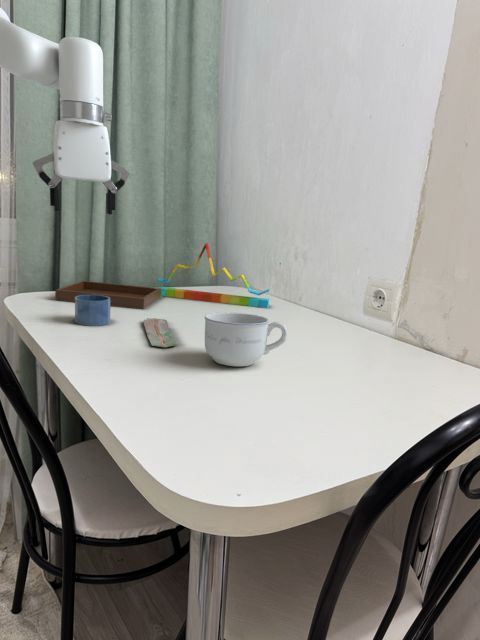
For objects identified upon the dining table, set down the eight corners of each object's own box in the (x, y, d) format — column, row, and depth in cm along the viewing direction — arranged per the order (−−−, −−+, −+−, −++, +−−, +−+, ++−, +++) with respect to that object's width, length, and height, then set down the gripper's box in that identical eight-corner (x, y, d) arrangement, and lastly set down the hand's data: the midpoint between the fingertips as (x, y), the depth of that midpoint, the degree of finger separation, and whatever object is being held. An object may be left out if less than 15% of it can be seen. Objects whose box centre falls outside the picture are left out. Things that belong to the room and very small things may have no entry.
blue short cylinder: (69, 323, 101) (69, 299, 99) (83, 316, 107) (83, 293, 106) (102, 327, 100) (102, 302, 99) (114, 319, 107) (115, 296, 106)
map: (151, 351, 89) (151, 346, 89) (142, 318, 108) (142, 314, 107) (180, 351, 91) (180, 346, 90) (166, 319, 109) (166, 315, 109)
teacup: (193, 365, 82) (195, 318, 80) (214, 349, 93) (217, 306, 90) (276, 379, 80) (281, 330, 77) (288, 360, 90) (293, 316, 88)
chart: (268, 305, 136) (273, 249, 132) (267, 307, 133) (272, 250, 129) (160, 293, 140) (162, 238, 136) (156, 295, 137) (158, 239, 133)
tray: (55, 300, 120) (55, 289, 120) (82, 289, 135) (82, 280, 134) (143, 309, 119) (143, 298, 119) (161, 297, 134) (161, 288, 133)
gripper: (126, 125, 100) (125, 214, 105) (30, 111, 93) (34, 208, 97) (133, 120, 93) (132, 216, 98) (30, 106, 86) (34, 209, 91)
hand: (83, 212), depth 98 cm, fingers open, 9 cm apart
